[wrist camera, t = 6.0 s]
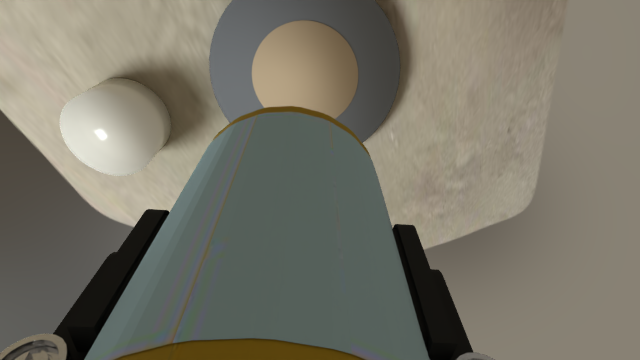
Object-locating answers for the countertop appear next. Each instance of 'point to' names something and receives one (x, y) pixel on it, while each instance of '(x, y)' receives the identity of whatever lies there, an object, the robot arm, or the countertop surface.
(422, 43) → the countertop surface
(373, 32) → the disc
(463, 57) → the countertop surface
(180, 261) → the bottle
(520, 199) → the countertop surface
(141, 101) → the white smooth round part
